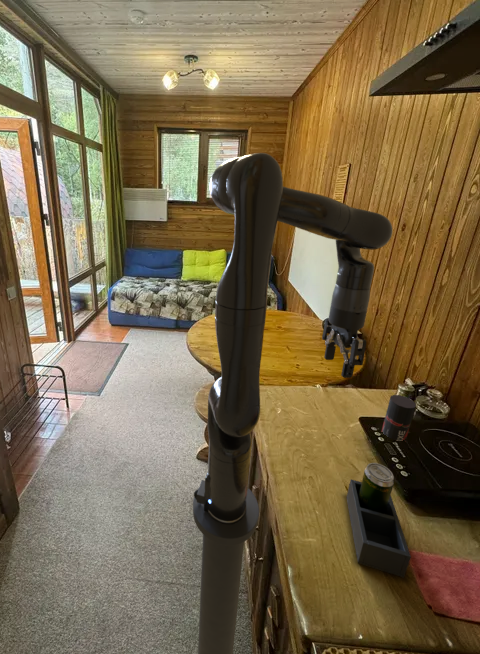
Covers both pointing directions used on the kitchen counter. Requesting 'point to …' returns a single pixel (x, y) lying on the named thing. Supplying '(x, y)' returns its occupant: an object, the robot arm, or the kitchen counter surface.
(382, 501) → the beer can
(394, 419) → the deodorant
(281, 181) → the robot arm
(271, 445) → the kitchen counter surface
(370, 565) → the box
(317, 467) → the kitchen counter surface
